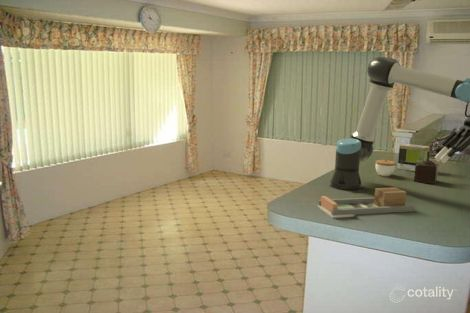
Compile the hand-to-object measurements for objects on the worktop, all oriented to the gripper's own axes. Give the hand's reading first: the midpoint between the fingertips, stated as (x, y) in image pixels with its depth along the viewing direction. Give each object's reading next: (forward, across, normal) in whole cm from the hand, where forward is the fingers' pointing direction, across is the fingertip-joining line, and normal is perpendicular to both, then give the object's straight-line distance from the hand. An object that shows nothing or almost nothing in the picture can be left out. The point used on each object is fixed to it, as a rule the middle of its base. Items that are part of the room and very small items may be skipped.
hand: (439, 160), depth 175 cm
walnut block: (+29, 0, +2) cm, 29 cm away
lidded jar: (+7, +54, -22) cm, 59 cm away
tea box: (-12, +66, -40) cm, 78 cm away
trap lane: (+38, 0, +9) cm, 39 cm away
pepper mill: (-5, +40, -34) cm, 53 cm away
